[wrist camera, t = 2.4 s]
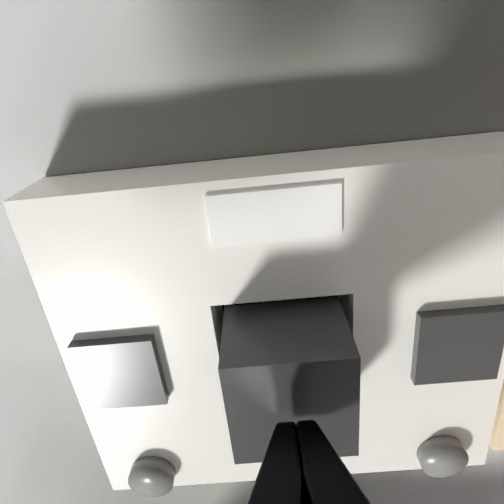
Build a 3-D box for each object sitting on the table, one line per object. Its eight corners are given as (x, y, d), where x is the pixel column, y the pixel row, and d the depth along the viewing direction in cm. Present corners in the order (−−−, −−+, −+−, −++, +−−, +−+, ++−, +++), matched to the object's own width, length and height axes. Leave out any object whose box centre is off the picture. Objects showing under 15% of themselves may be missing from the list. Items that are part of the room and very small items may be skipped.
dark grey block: (338, 296, 11) (360, 357, 9) (338, 383, 12) (358, 455, 10) (224, 306, 11) (217, 369, 9) (237, 391, 12) (234, 464, 10)
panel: (502, 131, 10) (568, 151, 8) (456, 414, 15) (491, 476, 13) (43, 177, 11) (-8, 208, 9) (129, 438, 15) (109, 502, 13)
